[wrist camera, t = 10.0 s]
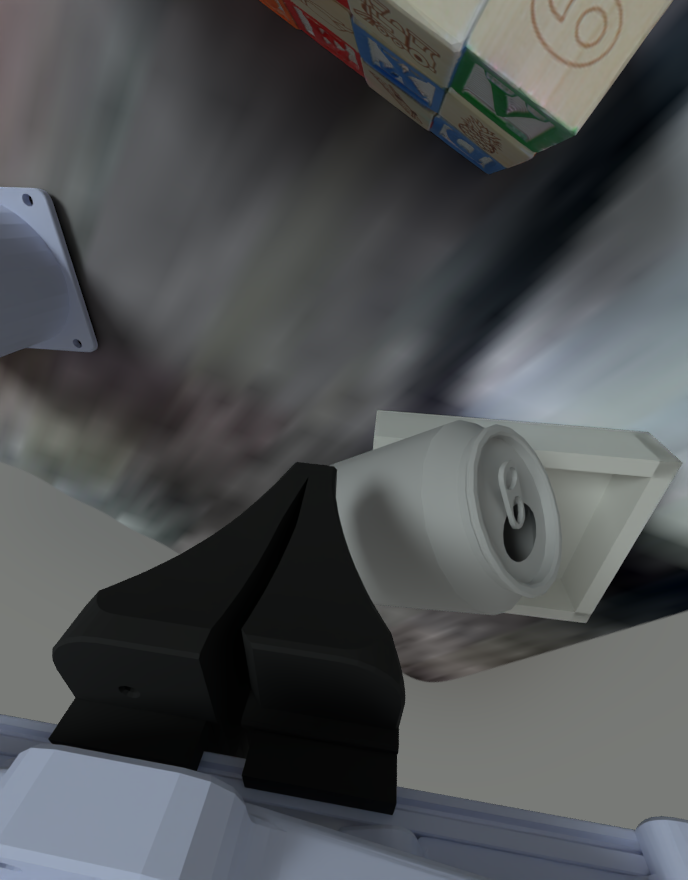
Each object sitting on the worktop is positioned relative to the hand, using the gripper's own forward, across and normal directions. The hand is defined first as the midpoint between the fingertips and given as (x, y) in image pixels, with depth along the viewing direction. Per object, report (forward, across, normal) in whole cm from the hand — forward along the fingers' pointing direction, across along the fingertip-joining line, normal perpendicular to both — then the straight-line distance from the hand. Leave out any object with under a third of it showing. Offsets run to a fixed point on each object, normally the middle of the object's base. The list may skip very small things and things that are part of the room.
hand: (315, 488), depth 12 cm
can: (+7, 0, +9) cm, 11 cm away
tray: (+10, -9, +8) cm, 16 cm away
